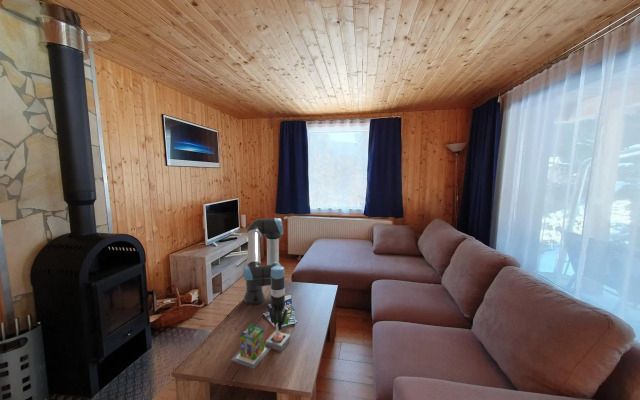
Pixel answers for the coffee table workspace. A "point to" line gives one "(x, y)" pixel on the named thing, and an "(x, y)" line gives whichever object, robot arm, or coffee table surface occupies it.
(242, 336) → the chalk box
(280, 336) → the button
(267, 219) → the robot arm
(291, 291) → the coffee table surface
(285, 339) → the button console
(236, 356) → the slate
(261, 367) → the coffee table surface
